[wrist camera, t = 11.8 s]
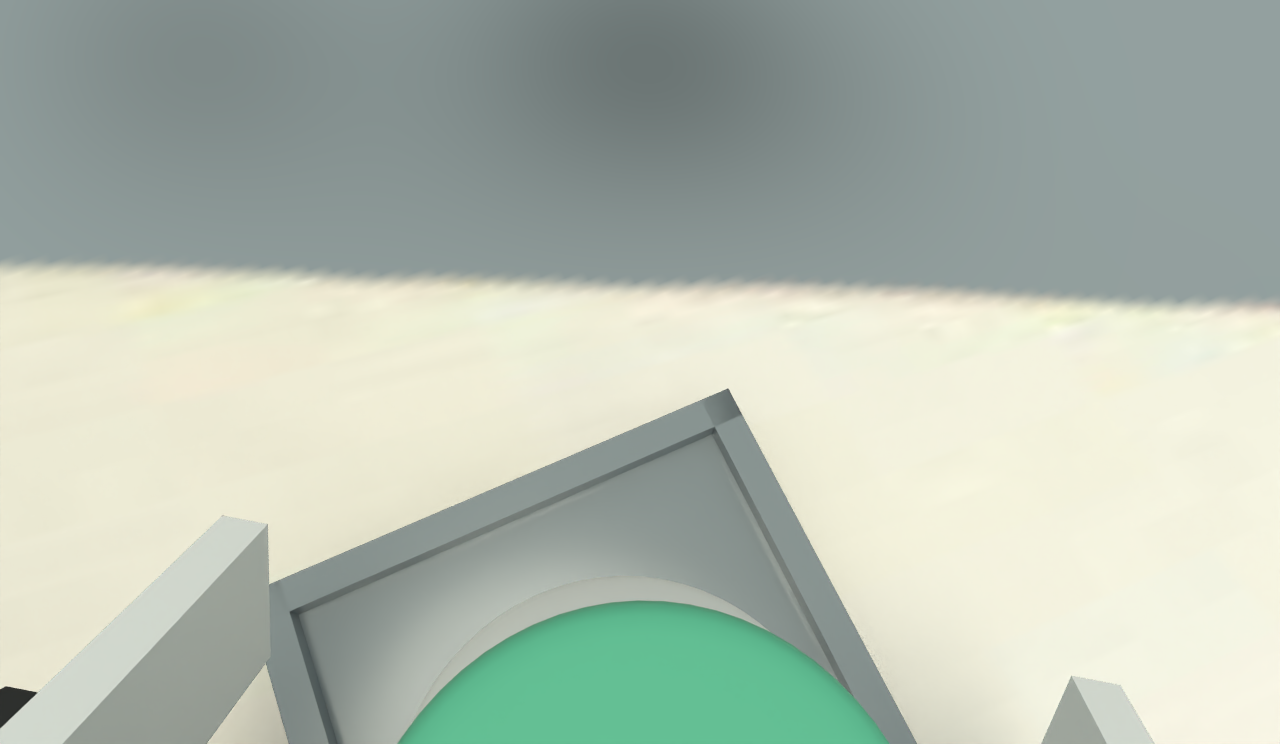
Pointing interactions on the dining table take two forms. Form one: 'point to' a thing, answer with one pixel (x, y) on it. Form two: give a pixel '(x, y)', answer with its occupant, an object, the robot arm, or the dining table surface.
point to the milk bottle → (635, 676)
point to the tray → (558, 573)
